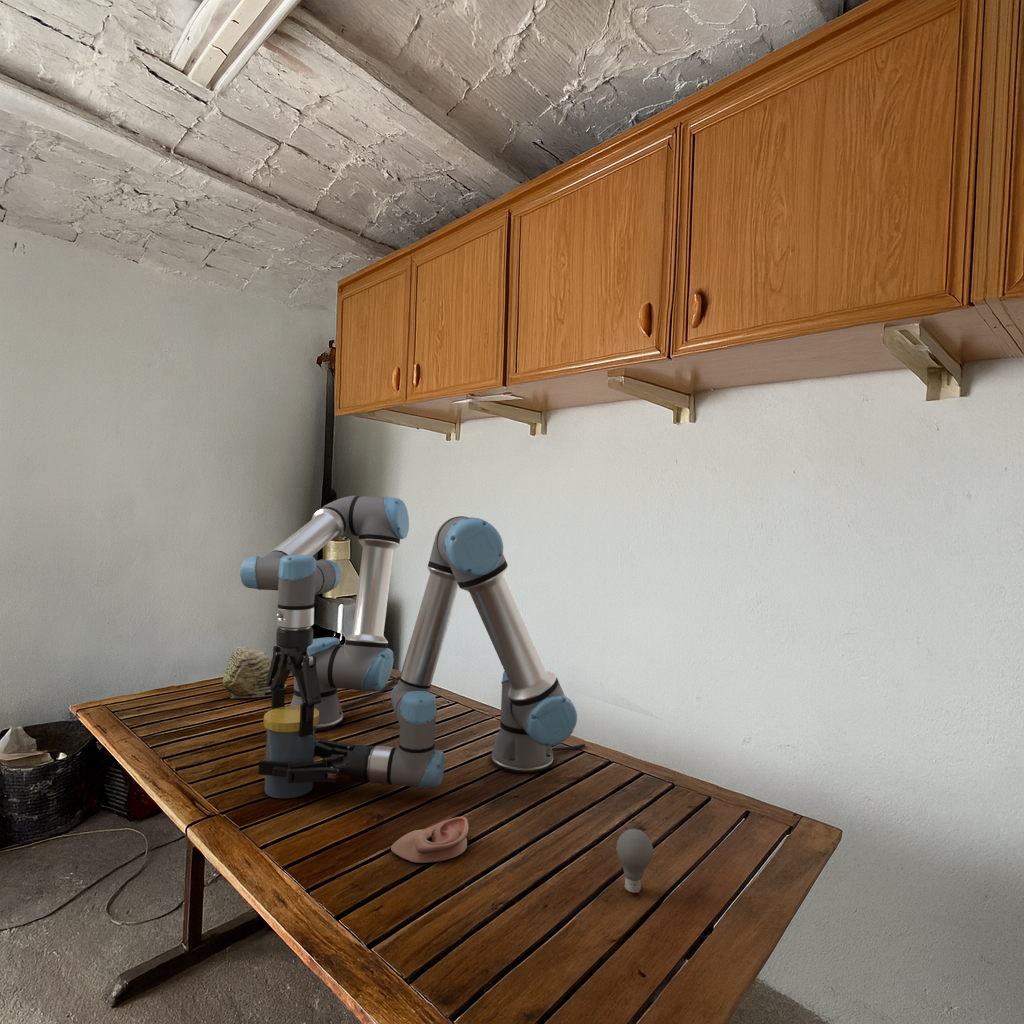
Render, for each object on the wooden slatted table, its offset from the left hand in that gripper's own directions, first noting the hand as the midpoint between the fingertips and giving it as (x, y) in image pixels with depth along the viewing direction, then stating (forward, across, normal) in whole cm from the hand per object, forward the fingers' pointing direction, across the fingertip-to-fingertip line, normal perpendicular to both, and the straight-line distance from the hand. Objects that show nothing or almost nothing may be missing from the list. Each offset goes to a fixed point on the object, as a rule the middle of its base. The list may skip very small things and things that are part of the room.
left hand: (291, 727), depth 137 cm
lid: (-3, 0, 0) cm, 3 cm away
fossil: (+13, -64, +24) cm, 70 cm away
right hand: (+7, -3, -2) cm, 8 cm away
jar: (+13, 0, 0) cm, 13 cm away
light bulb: (+13, +72, +22) cm, 77 cm away
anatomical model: (+13, +39, +6) cm, 42 cm away
